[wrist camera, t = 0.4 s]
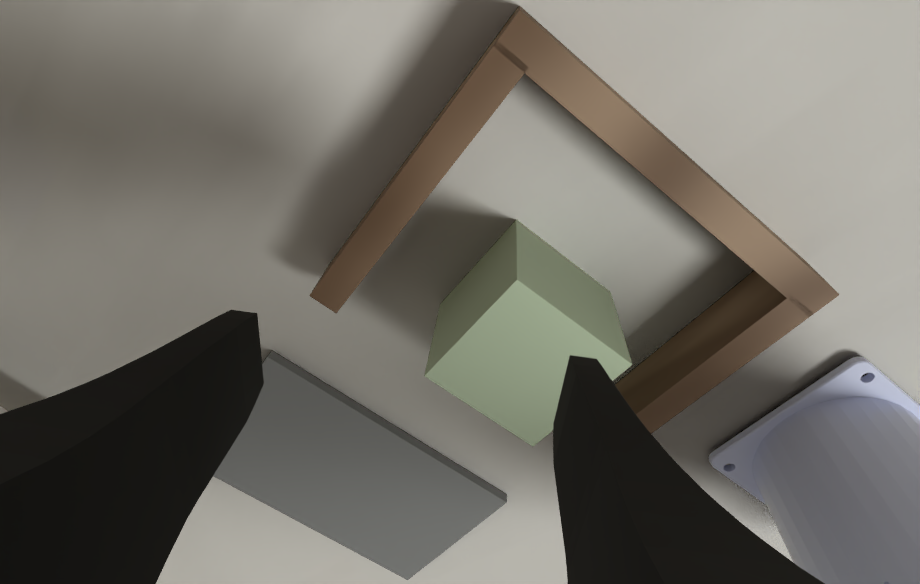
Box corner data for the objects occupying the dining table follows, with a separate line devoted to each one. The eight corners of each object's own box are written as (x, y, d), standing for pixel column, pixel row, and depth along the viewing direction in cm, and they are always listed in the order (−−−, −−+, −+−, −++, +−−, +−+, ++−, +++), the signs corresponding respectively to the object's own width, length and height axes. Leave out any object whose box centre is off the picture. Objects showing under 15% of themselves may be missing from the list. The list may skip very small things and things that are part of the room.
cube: (610, 291, 23) (632, 364, 19) (529, 365, 25) (532, 446, 21) (516, 218, 22) (516, 279, 17) (440, 303, 24) (424, 376, 20)
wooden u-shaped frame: (806, 262, 22) (839, 294, 19) (583, 437, 27) (589, 478, 25) (519, 5, 18) (520, 10, 16) (328, 265, 23) (309, 295, 21)
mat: (506, 494, 29) (506, 502, 29) (408, 572, 33) (407, 580, 33) (271, 350, 26) (267, 356, 25) (193, 455, 30) (189, 463, 29)
